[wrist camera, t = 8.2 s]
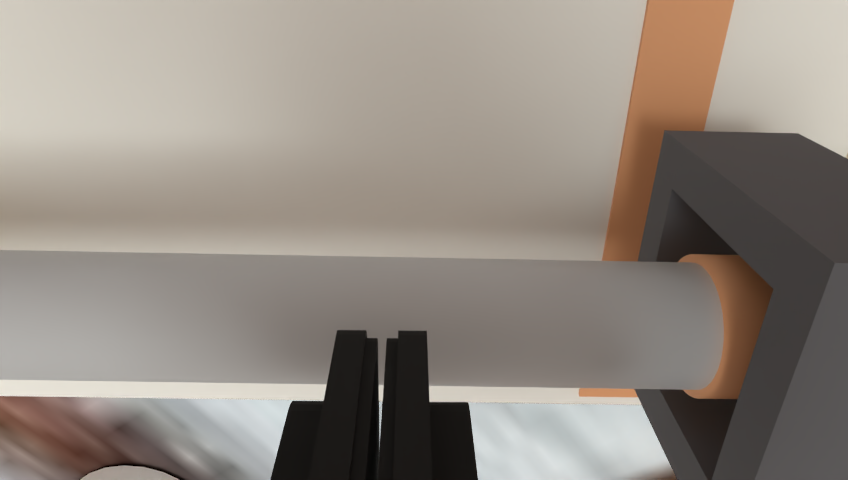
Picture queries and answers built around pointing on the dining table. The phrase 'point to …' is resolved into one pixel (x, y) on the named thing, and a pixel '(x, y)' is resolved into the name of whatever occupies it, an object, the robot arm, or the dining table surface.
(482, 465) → the dining table surface
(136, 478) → the cup
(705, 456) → the collar
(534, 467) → the dining table surface
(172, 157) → the pipe stand
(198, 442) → the dining table surface
